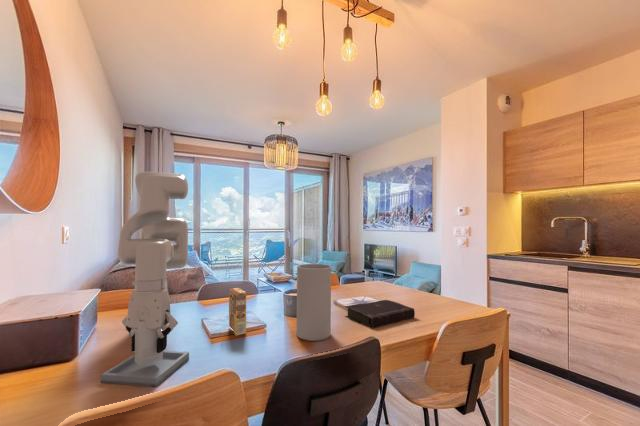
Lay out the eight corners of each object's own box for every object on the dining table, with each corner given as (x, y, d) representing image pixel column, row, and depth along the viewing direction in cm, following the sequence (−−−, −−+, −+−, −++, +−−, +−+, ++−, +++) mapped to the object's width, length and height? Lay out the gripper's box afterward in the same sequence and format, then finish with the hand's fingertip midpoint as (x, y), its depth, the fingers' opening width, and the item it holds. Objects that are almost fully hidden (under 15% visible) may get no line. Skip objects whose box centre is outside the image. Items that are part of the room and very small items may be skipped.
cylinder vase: (334, 331, 112) (335, 264, 113) (324, 344, 100) (324, 269, 101) (304, 327, 116) (304, 263, 117) (290, 338, 104) (291, 267, 105)
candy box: (246, 333, 108) (247, 291, 109) (235, 336, 106) (235, 293, 107) (238, 326, 116) (239, 287, 116) (227, 328, 113) (228, 288, 114)
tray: (100, 382, 75) (100, 374, 75) (142, 356, 90) (142, 349, 90) (156, 386, 73) (156, 378, 73) (189, 358, 88) (189, 352, 88)
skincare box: (157, 355, 85) (158, 312, 86) (163, 359, 83) (164, 316, 83) (133, 362, 81) (134, 317, 81) (139, 368, 78) (140, 321, 78)
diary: (415, 319, 128) (415, 308, 129) (372, 330, 115) (373, 317, 115) (383, 308, 144) (384, 298, 144) (343, 317, 130) (343, 305, 130)
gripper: (111, 287, 80) (109, 354, 79) (171, 289, 78) (170, 358, 77) (131, 281, 87) (130, 343, 86) (187, 283, 85) (186, 346, 85)
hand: (149, 349), depth 82 cm, fingers closed on skincare box, 6 cm apart
